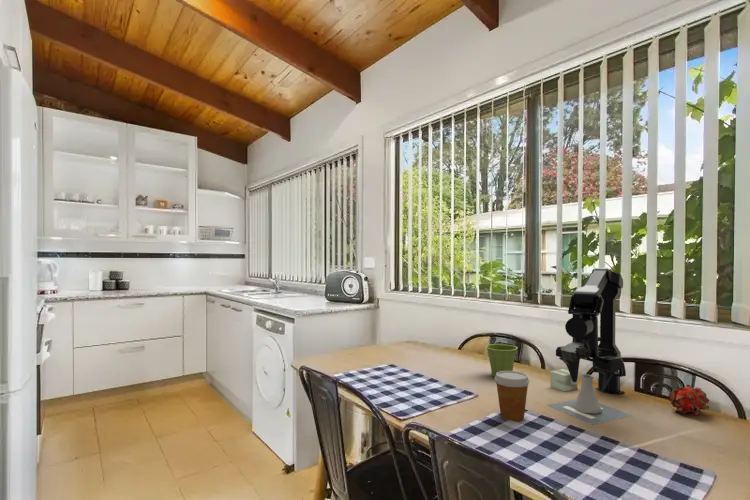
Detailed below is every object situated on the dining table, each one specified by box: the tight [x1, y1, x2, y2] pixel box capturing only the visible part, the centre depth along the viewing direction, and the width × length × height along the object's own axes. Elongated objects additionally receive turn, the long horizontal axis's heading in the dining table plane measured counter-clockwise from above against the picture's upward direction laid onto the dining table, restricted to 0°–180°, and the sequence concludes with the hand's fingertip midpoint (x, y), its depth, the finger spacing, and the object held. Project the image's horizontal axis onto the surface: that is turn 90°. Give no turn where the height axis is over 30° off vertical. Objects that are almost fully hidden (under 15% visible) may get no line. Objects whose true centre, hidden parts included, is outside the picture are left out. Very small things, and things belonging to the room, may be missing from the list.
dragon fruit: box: [668, 383, 710, 416], centre depth 118 cm, size 8×8×12 cm
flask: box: [574, 373, 602, 414], centre depth 119 cm, size 7×7×10 cm
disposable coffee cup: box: [494, 370, 530, 422], centre depth 116 cm, size 10×10×12 cm
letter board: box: [547, 398, 634, 426], centre depth 119 cm, size 16×16×1 cm
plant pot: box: [485, 343, 519, 378], centre depth 155 cm, size 12×12×11 cm
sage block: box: [549, 368, 578, 392], centre depth 140 cm, size 6×6×6 cm
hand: (587, 386), depth 119 cm, fingers open, 9 cm apart
